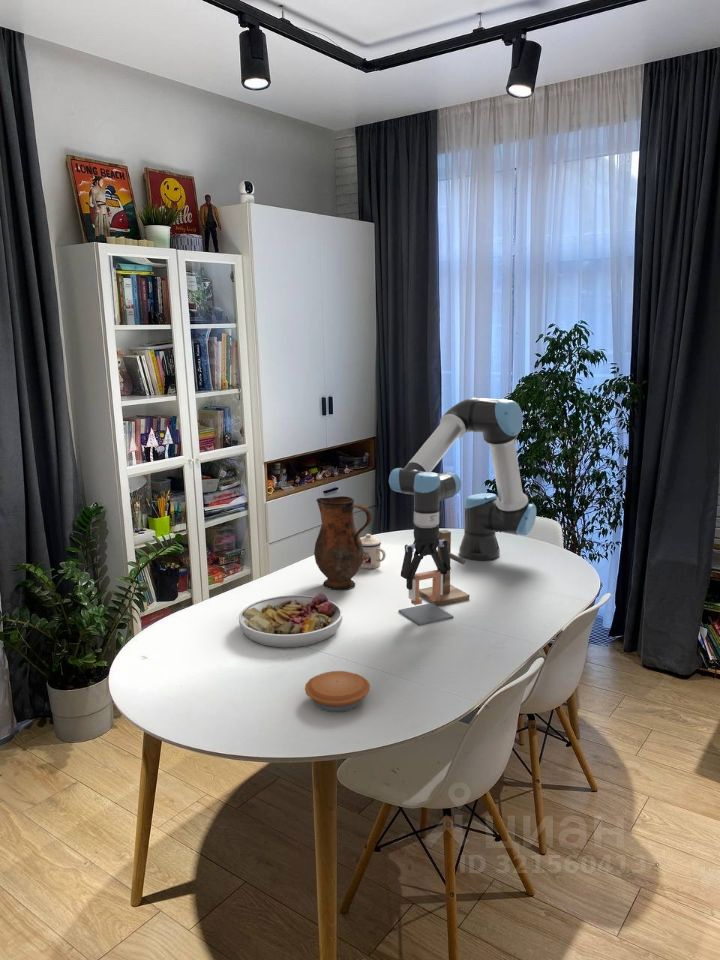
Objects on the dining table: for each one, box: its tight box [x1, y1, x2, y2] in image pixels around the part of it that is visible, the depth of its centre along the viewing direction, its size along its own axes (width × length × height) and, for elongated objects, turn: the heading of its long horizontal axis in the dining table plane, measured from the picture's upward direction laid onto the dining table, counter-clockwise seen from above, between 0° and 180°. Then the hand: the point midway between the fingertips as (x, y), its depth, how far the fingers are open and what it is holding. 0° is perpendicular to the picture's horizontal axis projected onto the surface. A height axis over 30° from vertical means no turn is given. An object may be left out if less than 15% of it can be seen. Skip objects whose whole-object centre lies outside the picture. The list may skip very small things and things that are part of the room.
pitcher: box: [313, 495, 372, 591], centre depth 253 cm, size 17×21×30 cm
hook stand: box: [419, 529, 470, 607], centre depth 241 cm, size 16×12×22 cm
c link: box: [410, 569, 440, 606], centre depth 229 cm, size 9×2×9 cm, turn 117°
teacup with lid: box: [359, 533, 387, 569], centre depth 275 cm, size 12×9×12 cm
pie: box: [304, 670, 371, 713], centre depth 181 cm, size 16×16×5 cm
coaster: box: [398, 602, 454, 626], centre depth 231 cm, size 12×12×1 cm
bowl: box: [238, 593, 343, 648], centre depth 221 cm, size 30×30×8 cm
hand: (425, 596), depth 230 cm, fingers closed on c link, 9 cm apart
